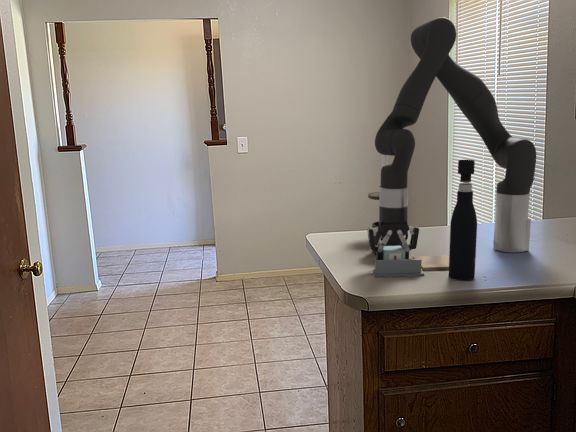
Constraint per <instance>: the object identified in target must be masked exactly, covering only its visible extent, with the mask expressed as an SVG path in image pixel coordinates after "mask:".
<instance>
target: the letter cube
mask: <svg viewBox="0 0 576 432" xmlns="http://www.w3.org/2000/svg"><path fill="white" fill-rule="evenodd" d="M382 252H383V260H396V259H405V250H404V249H403V248H402V247H401V246H384V248H383V250H382Z"/></svg>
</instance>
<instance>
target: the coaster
mask: <svg viewBox="0 0 576 432" xmlns="http://www.w3.org/2000/svg"><path fill="white" fill-rule="evenodd" d="M412 259H421V260H422V263H421V271H441V270H442V271H444V270H445V271H446V270H447V271H449V254H447V255H421V256H419V255H416V256H415V255H414V256H412Z"/></svg>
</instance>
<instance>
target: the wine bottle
mask: <svg viewBox="0 0 576 432" xmlns="http://www.w3.org/2000/svg"><path fill="white" fill-rule="evenodd" d="M475 162H476V161H475V160H474V159H459V160H458V161H457V163H458V164H457V174H459V175H460V179H459V182H460V183H458V191H456V203H455V206H454V208H453V211H452V214H451V218H450V225H449V226H450V231H449V254H448V255H449V270H448V277H449V278H450V279H451V280H455V281H461V282H465V281H466V282H467V281H472V280H474V279H475V276H476V258H477V257H476V256H477V255H476V254H477V234H478V233H477V231H478V218H477V213H476V209H475V206H474V202H473V201H474V199H473V198H474V191H473V183H471V182H472V175H474V174H475V166H476V165H475V164H476V163H475Z"/></svg>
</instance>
